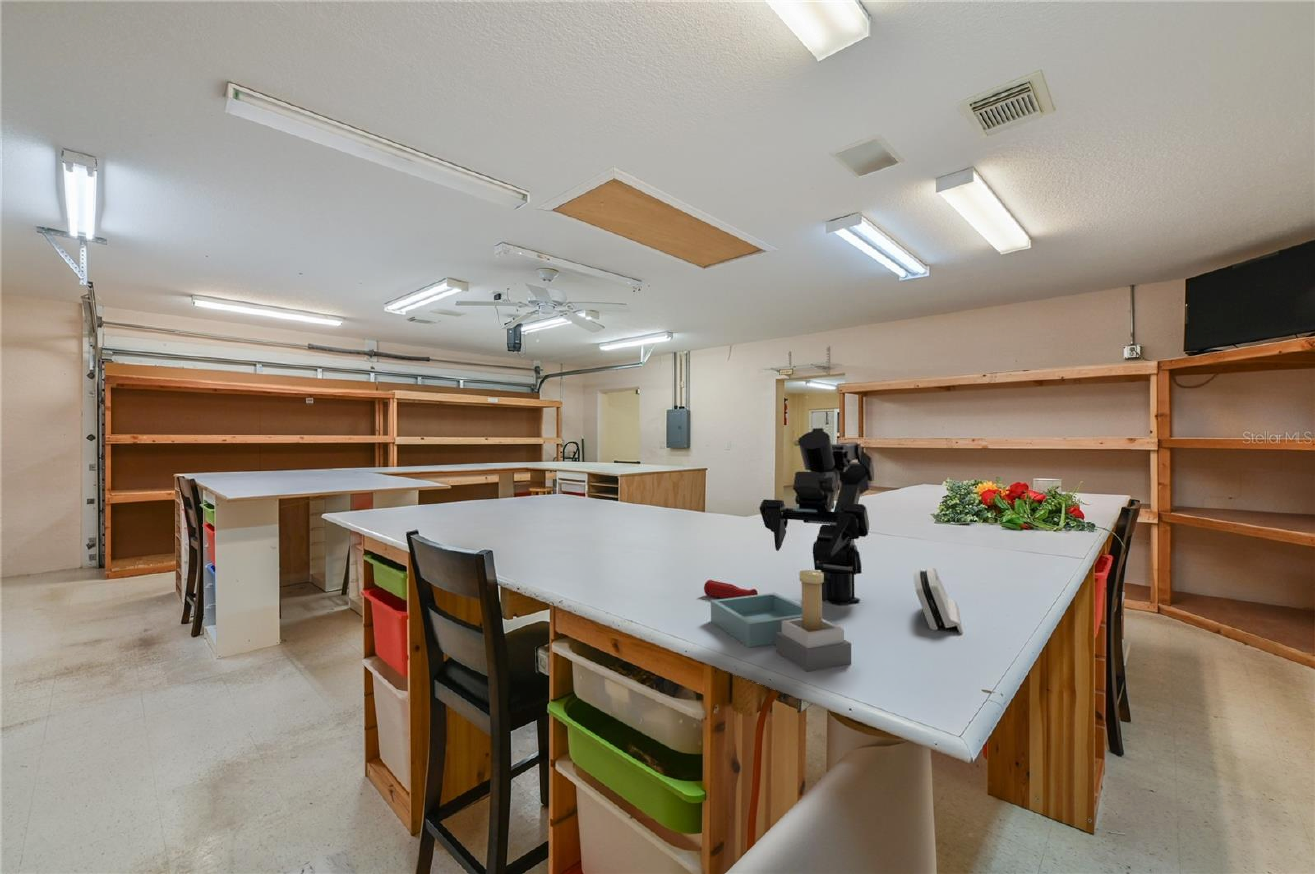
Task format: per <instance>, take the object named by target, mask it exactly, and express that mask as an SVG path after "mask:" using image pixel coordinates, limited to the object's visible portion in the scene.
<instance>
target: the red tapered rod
mask: <svg viewBox="0 0 1315 874" xmlns="http://www.w3.org/2000/svg"><path fill="white" fill-rule="evenodd" d="M703 591H704V594H705V595H706V596H708V597H715V598H719V599H727V598H735V597H744V596H752V595H759V593H758V591H757V589H756V588H751V589H745V588H740V587H738V586H736V585H734V584H732V583H727V582H721V581H718V580H717V581H716V580H713V579H708V580H707V581H705V583H704V587H703Z"/></svg>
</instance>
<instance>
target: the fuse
mask: <svg viewBox="0 0 1315 874" xmlns="http://www.w3.org/2000/svg"><path fill="white" fill-rule="evenodd" d="M798 579H799V581H800V582H801V605H802V627H801V628H802V629H804V630H806V631H807V632H813V631H819V630H823V629H822V619H823V599H822V583H823V582H824V574H823V573H822V572H821V570H815V569H813V570H811V569H810V570H807V569H806V570H803V569H802V570H800V571H799V578H798Z"/></svg>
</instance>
